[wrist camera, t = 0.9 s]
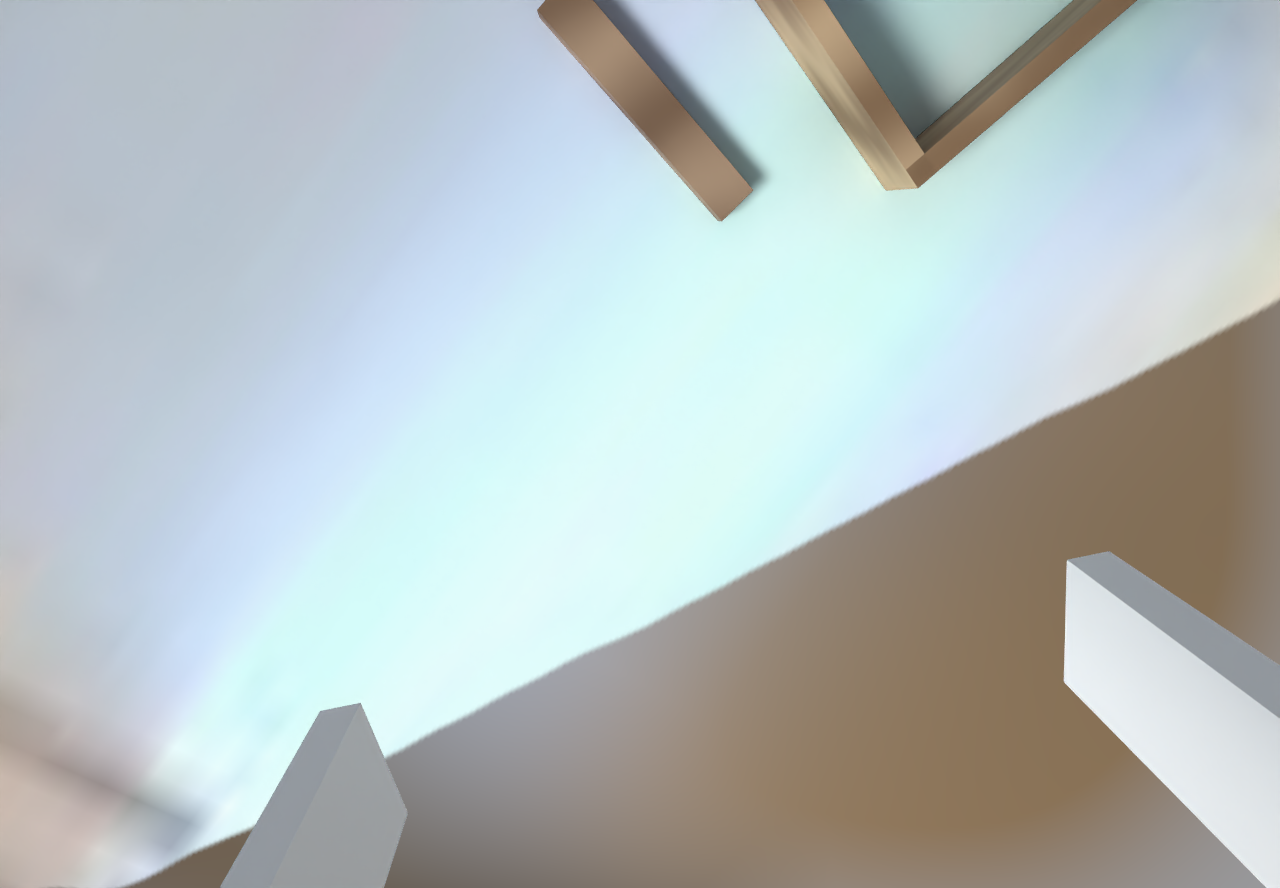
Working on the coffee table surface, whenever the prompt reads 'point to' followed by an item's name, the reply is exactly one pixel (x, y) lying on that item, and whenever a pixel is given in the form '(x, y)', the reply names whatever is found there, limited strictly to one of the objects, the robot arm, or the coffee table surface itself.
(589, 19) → the walnut bar
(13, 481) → the coffee table surface
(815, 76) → the cubby
